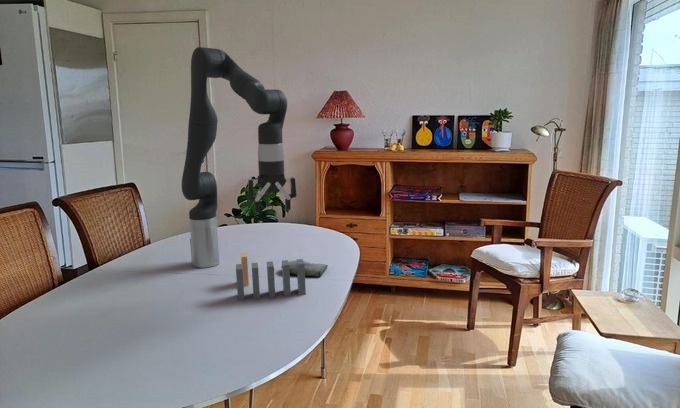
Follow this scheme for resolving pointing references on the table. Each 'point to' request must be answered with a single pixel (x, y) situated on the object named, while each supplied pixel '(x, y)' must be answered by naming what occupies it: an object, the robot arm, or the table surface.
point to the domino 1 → (240, 282)
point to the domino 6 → (301, 276)
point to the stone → (308, 268)
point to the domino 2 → (245, 268)
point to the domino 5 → (286, 278)
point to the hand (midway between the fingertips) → (272, 212)
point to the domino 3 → (255, 281)
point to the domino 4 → (271, 279)
